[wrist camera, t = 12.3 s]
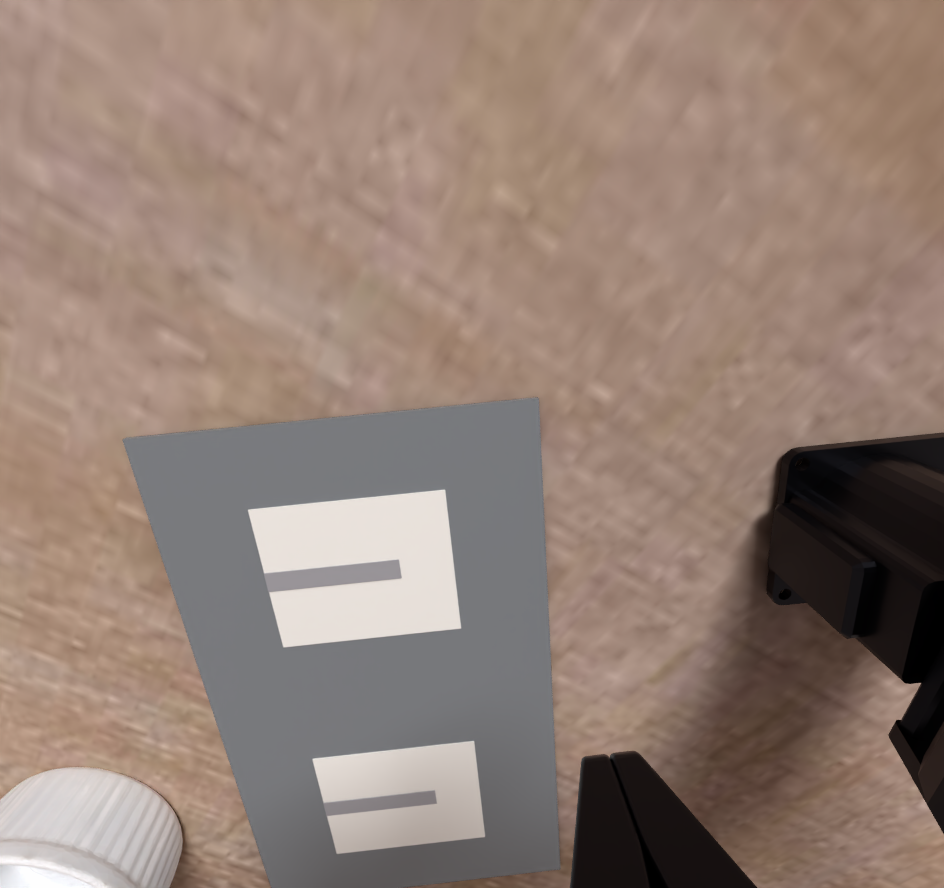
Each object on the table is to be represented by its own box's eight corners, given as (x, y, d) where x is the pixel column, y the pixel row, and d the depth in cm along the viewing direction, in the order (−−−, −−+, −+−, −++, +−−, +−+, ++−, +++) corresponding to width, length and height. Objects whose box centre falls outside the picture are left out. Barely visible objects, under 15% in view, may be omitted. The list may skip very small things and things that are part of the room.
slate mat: (537, 397, 18) (539, 399, 17) (559, 864, 26) (560, 871, 25) (126, 438, 17) (120, 440, 17) (277, 897, 25) (275, 904, 25)
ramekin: (-55, 813, 23) (-164, 933, 19) (90, 719, 22) (7, 827, 17) (101, 915, 25) (35, 1039, 21) (238, 836, 24) (196, 953, 20)
